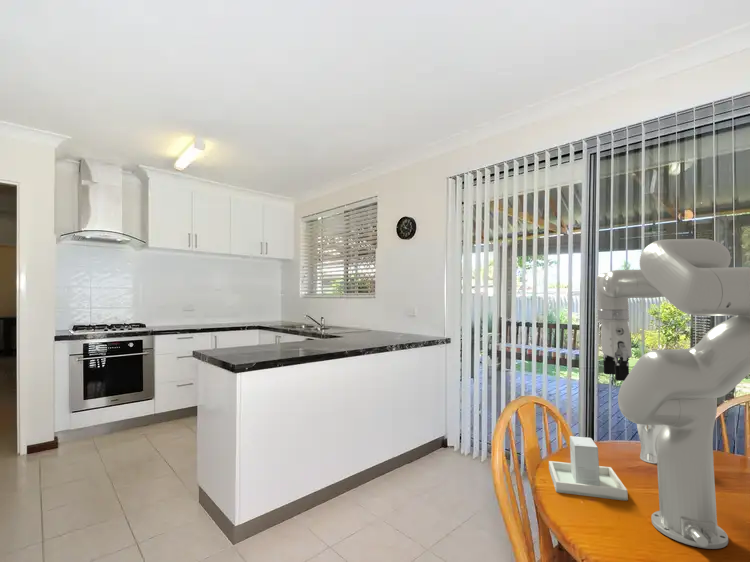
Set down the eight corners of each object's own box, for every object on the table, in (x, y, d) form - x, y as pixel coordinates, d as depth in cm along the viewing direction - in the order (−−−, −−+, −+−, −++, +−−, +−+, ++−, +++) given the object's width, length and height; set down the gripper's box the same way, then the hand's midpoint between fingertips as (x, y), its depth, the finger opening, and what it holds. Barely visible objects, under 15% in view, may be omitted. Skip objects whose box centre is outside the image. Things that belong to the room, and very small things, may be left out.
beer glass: (671, 464, 115) (669, 413, 116) (648, 465, 115) (645, 413, 116) (655, 455, 122) (652, 407, 123) (633, 455, 122) (630, 407, 123)
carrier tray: (627, 500, 95) (627, 490, 95) (556, 492, 99) (555, 482, 100) (611, 476, 108) (611, 467, 108) (549, 469, 113) (548, 460, 113)
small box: (600, 489, 99) (598, 447, 100) (576, 486, 101) (574, 445, 102) (593, 476, 107) (591, 437, 108) (570, 473, 109) (569, 435, 109)
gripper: (640, 317, 101) (644, 384, 100) (617, 315, 117) (620, 372, 116) (608, 317, 103) (611, 382, 102) (590, 315, 119) (592, 371, 118)
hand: (616, 377), depth 109 cm, fingers open, 9 cm apart
